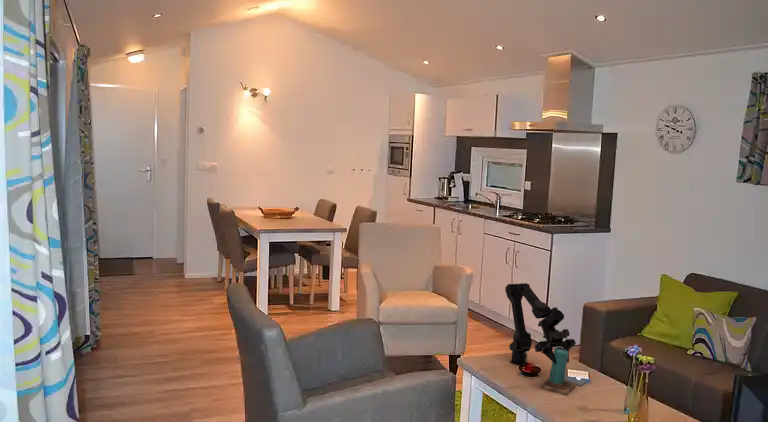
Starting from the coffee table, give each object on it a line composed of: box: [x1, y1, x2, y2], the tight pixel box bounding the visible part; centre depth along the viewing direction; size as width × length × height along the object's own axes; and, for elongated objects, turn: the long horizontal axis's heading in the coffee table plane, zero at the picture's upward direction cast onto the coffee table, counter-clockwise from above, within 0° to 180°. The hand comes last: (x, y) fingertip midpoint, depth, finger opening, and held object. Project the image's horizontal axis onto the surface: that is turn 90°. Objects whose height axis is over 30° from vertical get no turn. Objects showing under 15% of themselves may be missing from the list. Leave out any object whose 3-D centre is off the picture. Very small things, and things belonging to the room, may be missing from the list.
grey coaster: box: [564, 374, 587, 387], centre depth 301 cm, size 10×10×1 cm
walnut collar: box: [539, 377, 576, 396], centre depth 291 cm, size 12×12×2 cm
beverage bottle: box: [548, 340, 568, 385], centre depth 290 cm, size 6×7×20 cm
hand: (562, 362), depth 288 cm, fingers closed on beverage bottle, 6 cm apart
